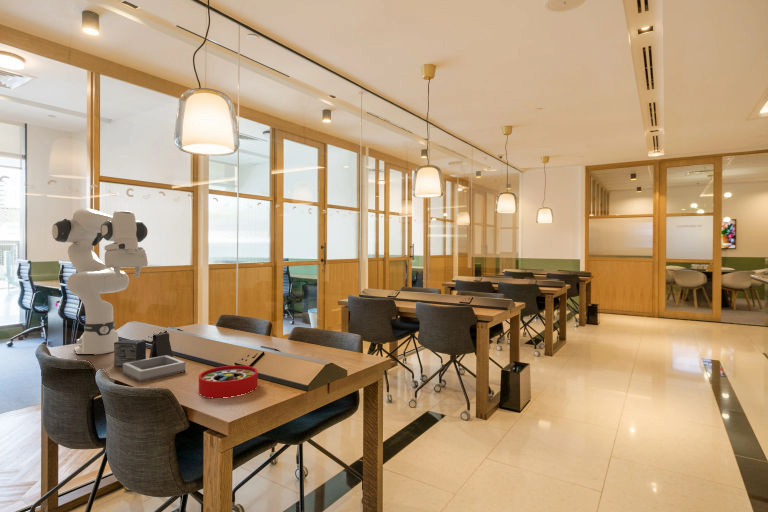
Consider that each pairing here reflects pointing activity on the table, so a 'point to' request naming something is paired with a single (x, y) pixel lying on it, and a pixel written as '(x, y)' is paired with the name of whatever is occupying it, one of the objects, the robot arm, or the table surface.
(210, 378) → the toy clock
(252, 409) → the table surface
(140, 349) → the small box
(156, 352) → the door stopper
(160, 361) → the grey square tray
